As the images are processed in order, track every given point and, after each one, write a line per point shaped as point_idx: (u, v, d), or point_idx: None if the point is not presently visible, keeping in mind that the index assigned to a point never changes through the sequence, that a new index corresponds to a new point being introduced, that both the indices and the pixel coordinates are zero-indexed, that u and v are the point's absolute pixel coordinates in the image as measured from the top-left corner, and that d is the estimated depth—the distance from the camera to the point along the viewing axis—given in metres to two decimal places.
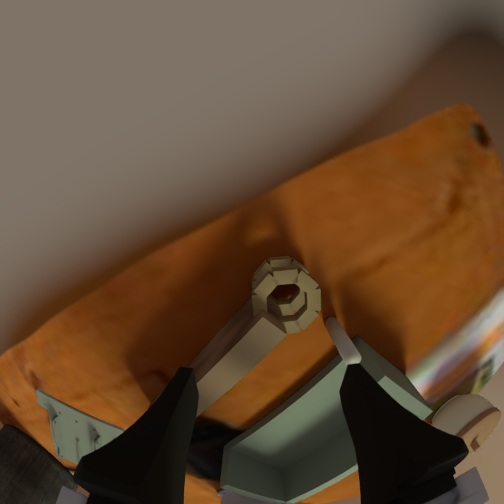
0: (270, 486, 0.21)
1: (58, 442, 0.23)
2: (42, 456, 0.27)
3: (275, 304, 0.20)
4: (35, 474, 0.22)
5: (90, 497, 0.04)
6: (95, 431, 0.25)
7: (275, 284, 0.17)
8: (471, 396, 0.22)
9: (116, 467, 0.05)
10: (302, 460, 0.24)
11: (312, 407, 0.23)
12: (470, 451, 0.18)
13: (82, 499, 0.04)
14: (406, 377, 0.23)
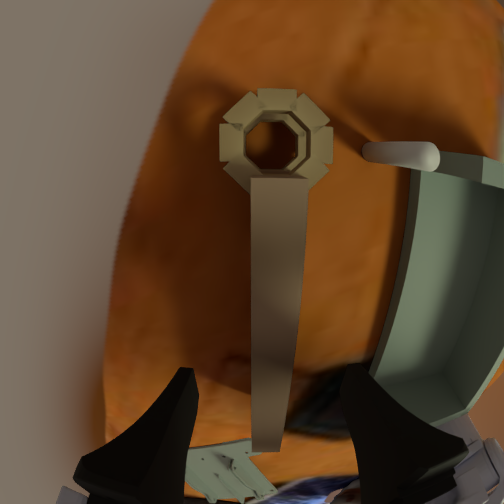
0: (439, 402, 0.16)
1: (201, 489, 0.24)
2: None
3: (281, 170, 0.13)
4: None
5: (90, 497, 0.04)
6: (225, 457, 0.24)
7: (239, 130, 0.10)
8: None
9: (115, 467, 0.05)
10: (456, 348, 0.18)
11: (428, 275, 0.15)
12: None
13: (82, 499, 0.04)
14: None
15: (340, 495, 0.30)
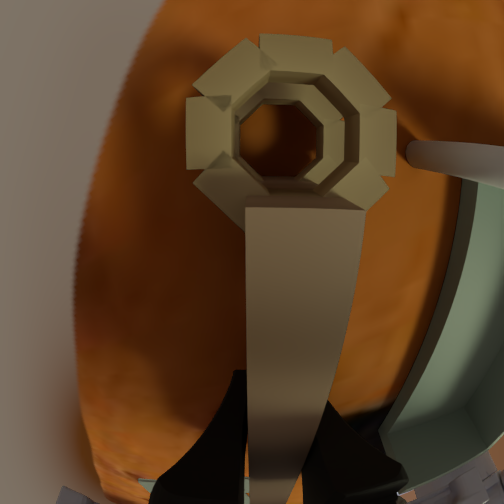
0: (461, 444, 0.11)
1: None
2: None
3: (295, 180, 0.08)
4: None
5: None
6: None
7: (224, 108, 0.05)
8: None
9: (202, 485, 0.05)
10: (483, 383, 0.13)
11: (471, 313, 0.11)
12: None
13: (82, 499, 0.04)
14: None
15: None
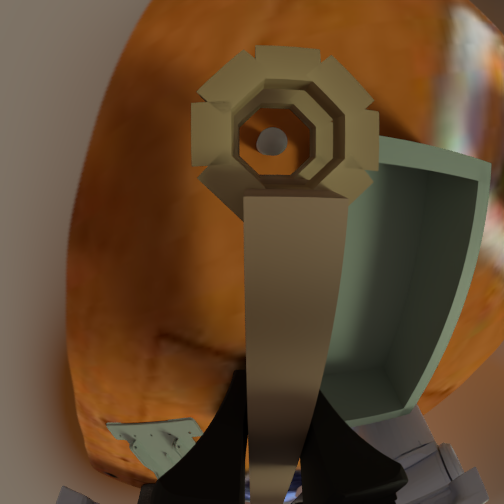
0: (373, 398, 0.18)
1: (151, 466, 0.26)
2: None
3: (290, 178, 0.09)
4: None
5: None
6: (171, 435, 0.26)
7: (225, 112, 0.05)
8: None
9: (203, 485, 0.05)
10: (394, 342, 0.20)
11: None
12: None
13: (82, 499, 0.04)
14: None
15: None
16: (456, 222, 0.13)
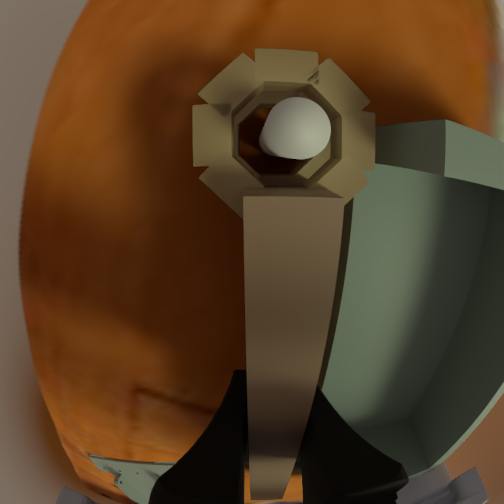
0: (396, 459, 0.12)
1: (138, 500, 0.20)
2: None
3: (289, 177, 0.09)
4: None
5: None
6: (159, 476, 0.20)
7: (225, 114, 0.06)
8: None
9: (202, 485, 0.05)
10: (425, 394, 0.14)
11: (377, 315, 0.12)
12: None
13: (82, 499, 0.04)
14: None
15: None
16: None
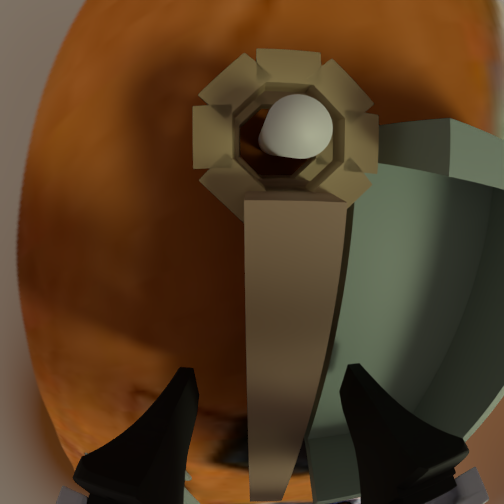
0: None
1: None
2: None
3: (291, 179, 0.09)
4: None
5: (90, 497, 0.04)
6: None
7: (226, 115, 0.06)
8: None
9: (116, 467, 0.05)
10: (426, 396, 0.14)
11: (378, 317, 0.11)
12: None
13: (82, 499, 0.04)
14: None
15: None
16: None
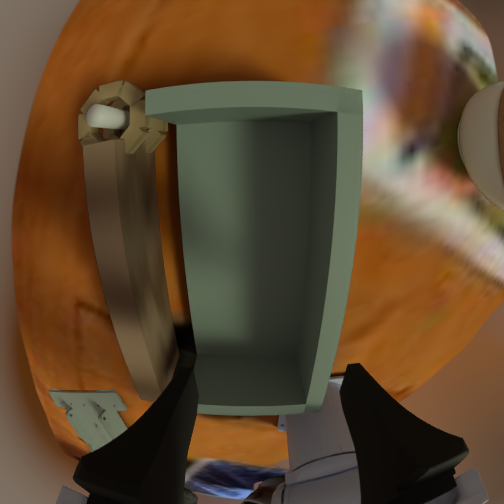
0: (271, 387, 0.18)
1: (85, 437, 0.26)
2: None
3: None
4: None
5: (90, 497, 0.04)
6: (99, 407, 0.26)
7: None
8: (477, 91, 0.12)
9: (115, 467, 0.05)
10: (300, 326, 0.20)
11: (211, 230, 0.17)
12: None
13: (82, 499, 0.04)
14: None
15: (254, 491, 0.33)
16: (327, 170, 0.12)
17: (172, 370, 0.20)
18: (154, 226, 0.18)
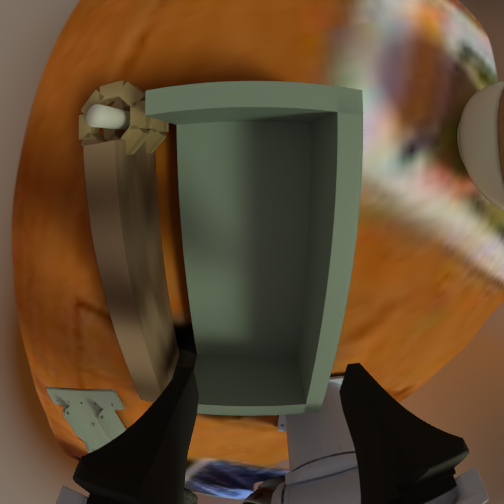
0: (271, 387, 0.18)
1: (81, 435, 0.26)
2: None
3: None
4: None
5: (90, 497, 0.04)
6: (97, 405, 0.26)
7: None
8: (477, 91, 0.12)
9: (115, 467, 0.05)
10: (300, 326, 0.20)
11: (211, 230, 0.17)
12: None
13: (82, 499, 0.04)
14: None
15: (254, 492, 0.33)
16: (327, 170, 0.12)
17: (172, 370, 0.20)
18: (154, 227, 0.18)
